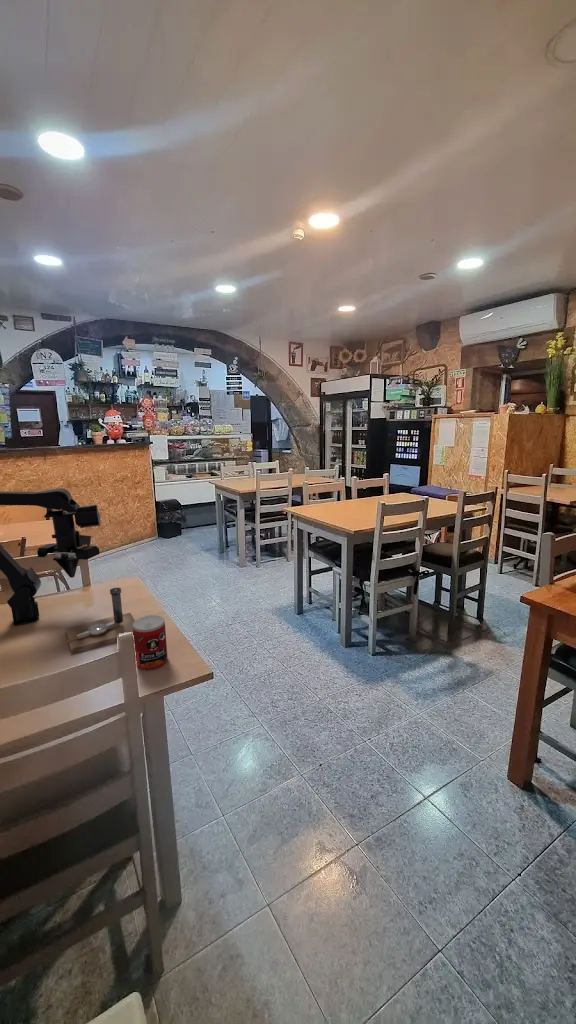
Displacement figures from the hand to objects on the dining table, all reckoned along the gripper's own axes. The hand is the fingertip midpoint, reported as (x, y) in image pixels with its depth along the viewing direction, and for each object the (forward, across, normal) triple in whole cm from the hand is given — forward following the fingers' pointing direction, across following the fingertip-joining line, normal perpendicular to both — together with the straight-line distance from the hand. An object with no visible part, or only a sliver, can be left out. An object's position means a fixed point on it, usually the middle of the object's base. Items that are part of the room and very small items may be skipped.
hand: (72, 577), depth 132 cm
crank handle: (+11, -18, +12) cm, 24 cm away
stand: (+12, -18, +10) cm, 24 cm away
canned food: (+13, -40, +20) cm, 46 cm away
